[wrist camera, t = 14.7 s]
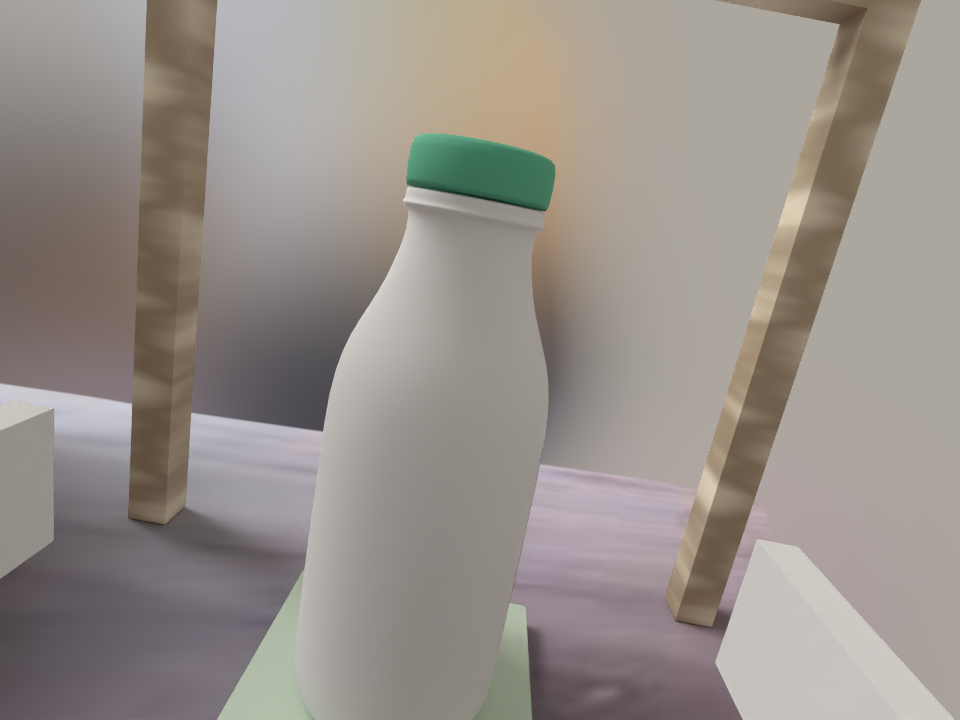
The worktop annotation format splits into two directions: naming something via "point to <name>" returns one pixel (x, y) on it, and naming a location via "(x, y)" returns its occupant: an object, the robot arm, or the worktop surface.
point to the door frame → (765, 349)
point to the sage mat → (283, 716)
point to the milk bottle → (430, 450)
